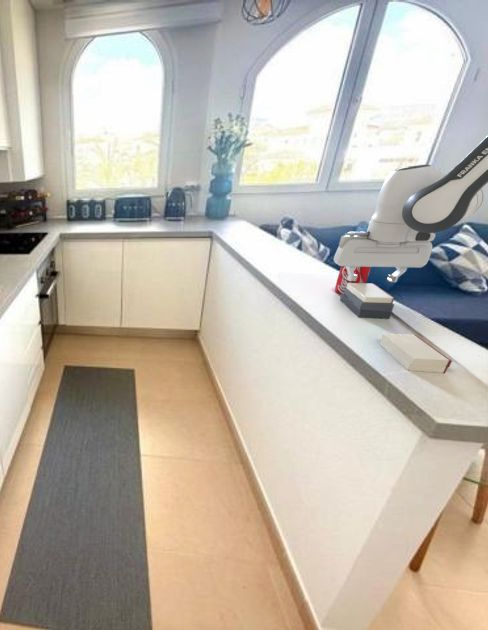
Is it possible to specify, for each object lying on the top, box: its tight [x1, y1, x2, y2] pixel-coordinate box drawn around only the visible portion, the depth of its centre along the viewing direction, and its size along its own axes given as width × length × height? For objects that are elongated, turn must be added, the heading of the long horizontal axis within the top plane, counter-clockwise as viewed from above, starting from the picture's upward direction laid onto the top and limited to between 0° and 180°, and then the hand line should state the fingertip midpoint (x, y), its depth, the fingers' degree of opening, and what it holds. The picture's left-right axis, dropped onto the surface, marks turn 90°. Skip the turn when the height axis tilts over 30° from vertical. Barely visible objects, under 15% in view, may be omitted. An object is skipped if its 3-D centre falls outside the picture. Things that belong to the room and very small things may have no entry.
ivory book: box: [346, 282, 395, 304], centre depth 98 cm, size 6×11×2 cm, turn 165°
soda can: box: [334, 266, 372, 297], centre depth 107 cm, size 7×7×12 cm
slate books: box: [339, 288, 395, 320], centre depth 99 cm, size 8×12×4 cm, turn 165°
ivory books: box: [380, 333, 453, 374], centre depth 77 cm, size 7×11×3 cm, turn 165°
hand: (371, 281), depth 96 cm, fingers open, 8 cm apart
